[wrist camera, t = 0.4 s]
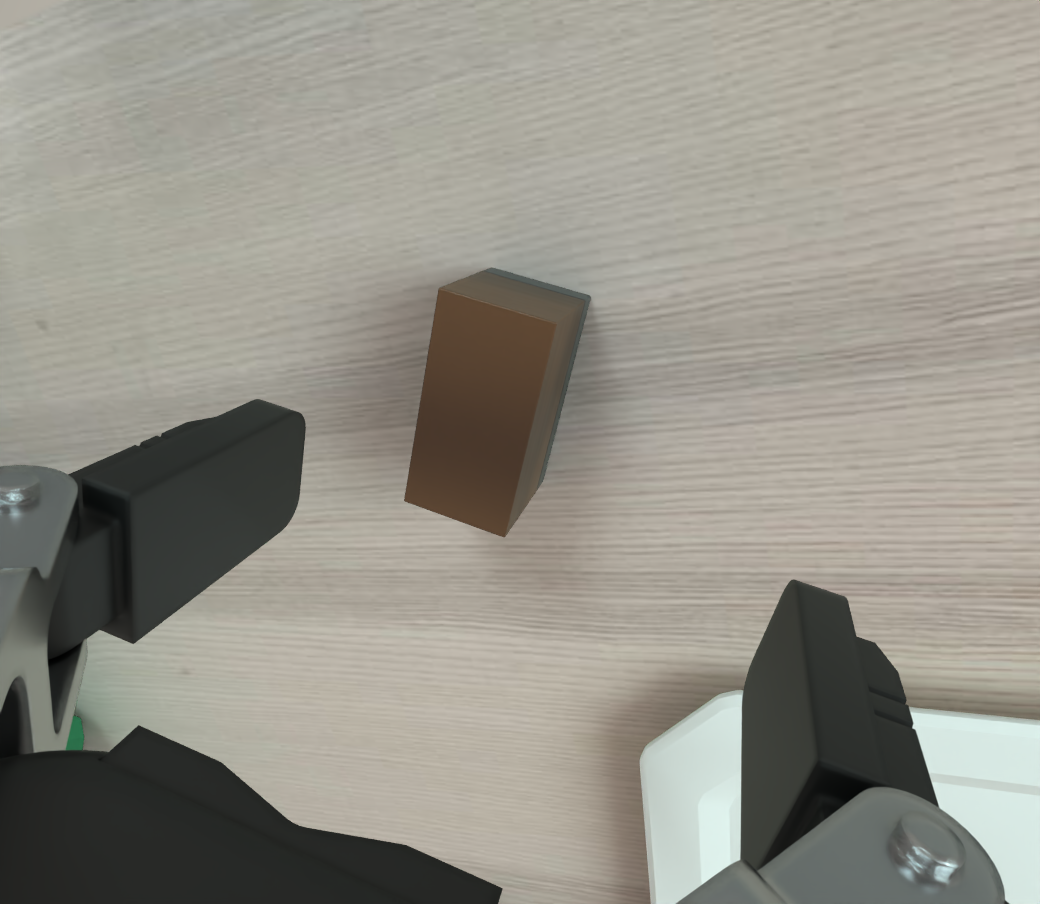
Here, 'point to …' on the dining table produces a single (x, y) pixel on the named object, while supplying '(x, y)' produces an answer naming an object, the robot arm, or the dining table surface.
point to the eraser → (492, 396)
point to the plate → (950, 762)
